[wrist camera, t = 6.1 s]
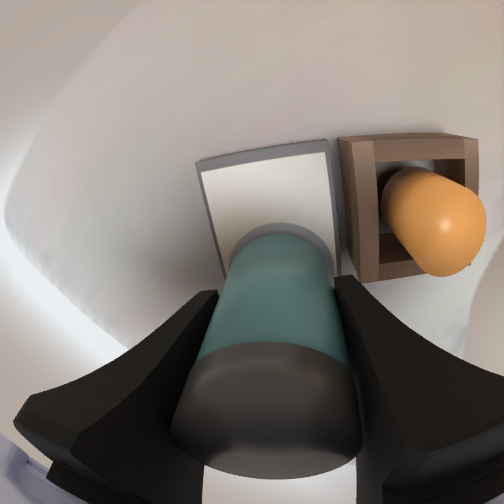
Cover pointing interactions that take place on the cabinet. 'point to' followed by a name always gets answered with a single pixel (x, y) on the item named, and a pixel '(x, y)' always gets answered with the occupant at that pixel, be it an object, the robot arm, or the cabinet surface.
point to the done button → (434, 219)
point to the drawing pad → (272, 198)
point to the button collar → (366, 200)
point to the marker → (272, 370)
